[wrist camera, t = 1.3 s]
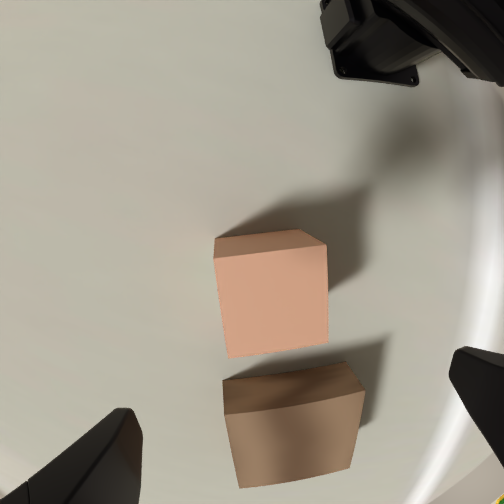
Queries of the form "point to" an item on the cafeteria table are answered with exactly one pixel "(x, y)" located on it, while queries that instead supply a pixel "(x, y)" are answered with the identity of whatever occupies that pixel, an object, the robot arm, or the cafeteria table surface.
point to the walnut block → (292, 423)
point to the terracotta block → (272, 291)
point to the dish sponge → (500, 500)
